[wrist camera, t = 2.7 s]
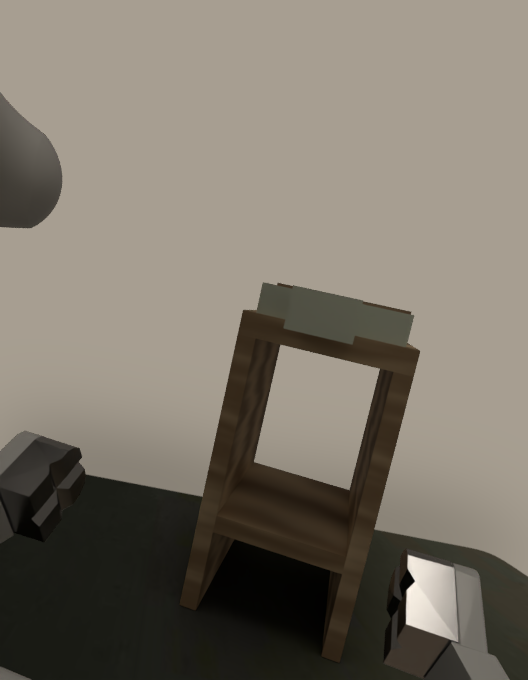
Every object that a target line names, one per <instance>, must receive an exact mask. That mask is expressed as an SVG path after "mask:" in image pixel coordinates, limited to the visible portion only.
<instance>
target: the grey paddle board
mask: <svg viewBox="0 0 528 680" xmlns="http://www.w3.org/2000/svg"><path fill="white" fill-rule="evenodd" d="M256 313H260V314H264V315H268V316H273V317H277V318H281V319H285V323H284V329H288V330H292V331H297V332H301V333H305V334H309V335H314V336H318V337H322V338H326V339H331V340H335V341H339V342H343V343H348V344H352V345H353V341H354V337H355V336H359V337H363V338H368V339H372V340H376V341H381V342H385V343H389V344H394V345H398V346H402V347H406V346H407V342H408V338H409V334H410V330H411V326H412V322H413V318H414V315H410V314H405V313H401V312H396V311H392V310H387V309H383V308H378V307H373V306H369V305H364V304H363V301H362V300H358V299H353V298H348V297H344V296H339V295H335V294H330V293H326V292H321V291H317V290H312V289H307V288H303V287H297V286H294V285H293V288H292V289H291V288H287V287H282V286H277V285H273V284H268V283H263V284H262V289H261V294H260V298H259V303H258V308H257V312H256Z"/></svg>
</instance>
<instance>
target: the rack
mask: <svg viewBox="0 0 528 680" xmlns="http://www.w3.org/2000/svg"><path fill="white" fill-rule="evenodd" d="M277 286H282V287H287V288H291V289H292V288H293V286H290V285H285V284H281V283H278V284H277ZM363 304H364V305H369V306H373V307H378V308H383V309H387V310H392V311H396V312H401V313H405V314H410V315H411V312H409V311H405V310H400V309H395V308H391V307H386V306H382V305H377V304H372V303H368V302H363ZM256 312H257V310H243V313H242V318H241V322H240V327H239V332H238V336H237V341H236V345H235V350H234V355H233V359H232V364H231V368H230V373H229V378H228V383H227V387H226V392H225V396H224V401H223V405H222V410H221V415H220V419H219V424H218V429H217V433H216V438H215V442H214V447H213V452H212V456H211V461H210V466H209V470H208V475H207V479H206V484H205V489H204V493H203V498H202V503H201V507H200V512H199V517H198V521H197V526H196V530H195V535H194V540H193V544H192V549H191V554H190V558H189V563H188V567H187V572H186V577H185V581H184V586H183V591H182V595H181V600H180V604H179V605H181V606H184V607H187V608H190V609H192V610H195V611H196V609H197V607H198V605H199V604H200V602H201V600H202V598H203V596H204V594H205V592H206V591H207V589H208V587H209V585H210V583H211V581H212V580H213V578H214V576H215V574H216V572H217V570H218V569H219V567H220V565H221V563H222V561H223V559H224V558H225V556H226V554H227V552H228V550H229V548H230V547H231V545H232V543H233V541H234V539H235V540H238V541H242V542H245V543H248V544H251V545H254V546H257V547H260V548H263V549H266V550H269V551H272V552H275V553H278V554H281V555H284V556H287V557H290V558H293V559H296V560H299V561H302V562H306V563H309V564H312V565H315V566H318V567H321V568H324V569H327V570H330V579H329V589H328V598H327V607H326V617H325V626H324V636H323V645H322V654H321V657H324V658H327V659H330V660H332V661H335V662H338V663H340V659H341V655H342V651H343V647H344V644H345V640H346V636H347V632H348V628H349V624H350V620H351V617H352V613H353V609H354V605H355V601H356V597H357V593H358V590H359V586H360V582H361V578H362V574H363V570H364V566H365V562H366V559H367V555H368V551H369V547H370V543H371V539H372V535H373V532H374V528H375V524H376V520H377V516H378V512H379V508H380V504H381V500H382V496H383V493H384V489H385V485H386V481H387V477H388V474H389V470H390V466H391V462H392V458H393V454H394V450H395V447H396V443H397V439H398V435H399V431H400V427H401V423H402V419H403V416H404V412H405V408H406V404H407V400H408V396H409V392H410V389H411V384H412V381H413V377H414V373H415V369H416V365H417V362H418V358H419V354H420V351H419V350H418V349H416V348H414V347H413V346H411V345H410V344H408V343H407V346H406V347H402V346H398V345H394V344H389V343H385V342H381V341H376V340H372V339H368V338H363V337H359V336H355V337H354V341H353V345H352V344H348V343H343V342H339V341H335V340H331V339H326V338H322V337H318V336H314V335H309V334H305V333H301V332H297V331H292V330H288V329H284V323H285V319H281V318H277V317H273V316H268V315H264V314H260V313H256ZM280 344H281V345H285V346H289V347H293V348H297V349H301V350H305V351H310V352H314V353H318V354H322V355H326V356H330V357H334V358H339V359H343V360H347V361H351V362H355V363H359V364H363V365H368V366H371V367H376V368H380V371H379V376H378V379H377V383H376V387H375V391H374V395H373V399H372V403H371V407H370V411H369V415H368V419H367V423H366V427H365V431H364V435H363V439H362V444H361V447H360V451H359V455H358V459H357V463H356V467H355V471H354V475H353V479H352V483H351V487H350V490H346V489H343V488H340V487H337V486H333V485H329V484H326V483H323V482H319V481H316V480H313V479H309V478H306V477H302V476H299V475H296V474H292V473H289V472H285V471H282V470H279V469H275V468H272V467H268V466H265V465H261V464H258V463H254V458H255V454H256V450H257V444H258V440H259V436H260V431H261V427H262V423H263V419H264V414H265V410H266V405H267V401H268V396H269V392H270V387H271V383H272V379H273V374H274V370H275V366H276V361H277V357H278V352H279V347H280Z"/></svg>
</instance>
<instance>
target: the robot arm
mask: <svg viewBox="0 0 528 680" xmlns="http://www.w3.org/2000/svg"><path fill="white" fill-rule="evenodd" d="M61 188H62V171H61V166H60V161H59V159H58V156H57V153H56V151H55V149H54V147H53V146H52V144H51V142H50V141H49V139H48V138H47V136H46V135H45V134H44V133H42V132H41V131H40V130H38V129H37V128H36V127H34V126H33V125H32V124H30V123H29V122H28V121H27V120H26V119H25V118H24V117H22V116H21V115H20V114H19V113H18V112H17V111H16V110H15V109H14V108H13V107H12V106H11V104H9V102H8V101H7V100H6V99H5V98H4V96H3V95H2V94H1V93H0V227H11V228H32V227H34V226H36V225H38V224H39V223H40V222H42V221H43V220H44V219H45V218H46V217H47V216H48V215H49V214H50V213H51V212H52V210H53V209H54V207H55V205H56V204H57V202H58V199H59V196H60V193H61ZM81 458H82V455H81V452H80V448H77V447H74V446H71V445H67V444H65V443H61V442H58V441H55V440H52V439H49V438H46V437H44V436H40V435H37V434H34V433H30V432H27V431H24V432H21V433H19V434H17V435H16V436H15V437H14V438H13V439H12V440H11V441H10V442H9V443H8V444H7V445H6V446H5V447H4V448H3V449H2V450H1V451H0V543H2V542H3V541H5V540H7V539H8V538H10V537H11V536H13V535H14V533H16V534H19V535H22V536H26V537H29V538H32V539H35V540H38V541H41V542H45V541H46V540H47V538H48V537H49V536H50V534H51V533H52V532H53V530H54V529H55V528H56V526H57V525H58V524H59V523H60V521H61V520H62V510H63V509H65V508H67V507H69V506H71V505H73V504H74V502H75V501H76V500H77V498H78V497H79V495H80V493H81V491H82V489H83V486H84V484H85V477H86V475H85V469H84V468H83V467H82V465H81V464H80V463H79V460H80V459H81ZM387 611H388V613H389V615H390V617H391V620H390V622H389V624H388V626H387V628H386V630H385V644H384V661H383V663H384V664H386V665H389V666H392V667H394V668H397V669H399V670H402V671H404V672H407V673H410V674H412V675H415V676H417V677H420V678H423V679H424V680H510V679H509V678H508V676H507V675H506V673H505V671H504V670H503V668H502V666H501V665H500V663H499V661H498V660H497V658H496V656H493V655H491V654H488V650H487V640H486V631H485V622H484V612H483V603H482V594H481V584H480V576H479V574H478V572H477V571H476V570H475V569H472V568H468V567H465V566H461V565H458V564H454V563H451V562H450V561H447V560H443V559H440V558H436V557H433V556H430V555H426V554H423V553H419V552H416V551H412V550H409V549H405V550H404V551H403V553H402V555H401V558H400V566H399V567H396V568H395V570H394V572H393V574H392V577H391V581H390V585H389V591H388V599H387ZM0 680H31V679H29V678H26V677H24V676H22V675H19V674H17V673H14V672H12V671H10V670H7V669H5V668H2V667H0Z"/></svg>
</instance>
